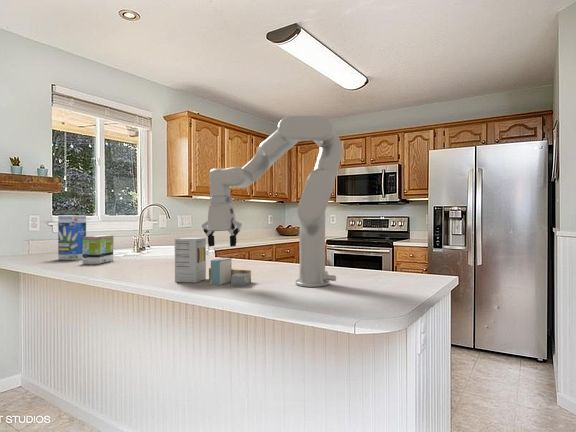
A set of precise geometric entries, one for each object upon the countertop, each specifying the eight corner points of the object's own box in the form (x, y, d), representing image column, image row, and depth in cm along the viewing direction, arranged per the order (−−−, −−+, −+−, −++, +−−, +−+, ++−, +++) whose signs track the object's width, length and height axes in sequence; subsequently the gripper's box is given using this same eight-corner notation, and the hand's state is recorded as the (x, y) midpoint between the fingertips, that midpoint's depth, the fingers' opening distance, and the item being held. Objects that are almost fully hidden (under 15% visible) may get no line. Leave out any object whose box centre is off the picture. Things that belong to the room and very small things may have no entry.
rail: (250, 281, 147) (250, 270, 147) (249, 282, 146) (249, 270, 146) (210, 278, 154) (210, 267, 154) (208, 279, 153) (208, 268, 153)
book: (231, 281, 148) (231, 258, 148) (220, 285, 141) (219, 260, 141) (222, 280, 150) (222, 257, 150) (210, 284, 143) (210, 260, 143)
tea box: (100, 264, 202) (100, 236, 202) (81, 264, 202) (81, 236, 202) (114, 260, 217) (113, 234, 217) (96, 260, 217) (96, 234, 217)
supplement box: (196, 283, 146) (196, 238, 145) (174, 282, 147) (173, 238, 147) (206, 278, 155) (206, 237, 155) (185, 278, 157) (185, 237, 157)
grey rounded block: (249, 283, 146) (249, 272, 146) (244, 287, 138) (244, 276, 138) (236, 282, 146) (236, 272, 146) (231, 286, 138) (231, 275, 138)
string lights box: (57, 259, 222) (57, 215, 222) (67, 258, 230) (66, 215, 230) (78, 260, 220) (77, 215, 220) (87, 258, 228) (86, 215, 228)
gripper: (245, 200, 145) (246, 245, 146) (207, 202, 152) (208, 245, 152) (234, 200, 139) (236, 247, 139) (195, 202, 145) (197, 247, 145)
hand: (222, 246), depth 145 cm, fingers open, 9 cm apart
